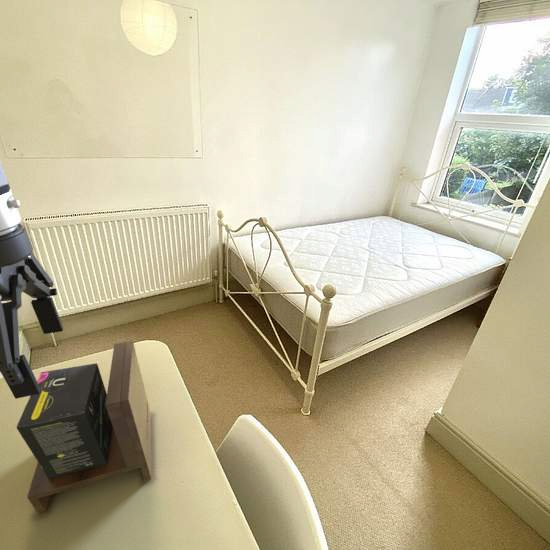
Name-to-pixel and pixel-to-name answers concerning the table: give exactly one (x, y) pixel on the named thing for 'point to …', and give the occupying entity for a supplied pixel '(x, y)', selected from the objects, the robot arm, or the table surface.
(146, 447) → the wooden display stand
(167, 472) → the table surface
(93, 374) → the tampon box
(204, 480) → the table surface
